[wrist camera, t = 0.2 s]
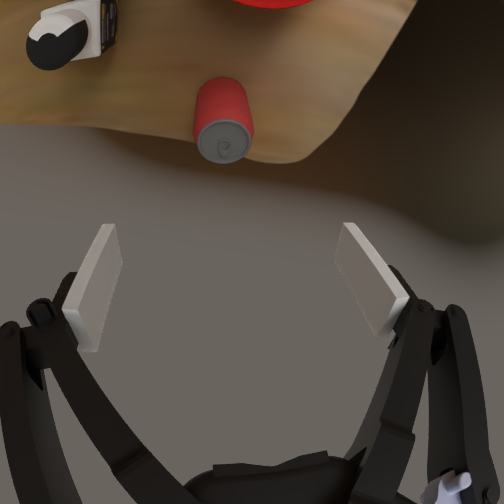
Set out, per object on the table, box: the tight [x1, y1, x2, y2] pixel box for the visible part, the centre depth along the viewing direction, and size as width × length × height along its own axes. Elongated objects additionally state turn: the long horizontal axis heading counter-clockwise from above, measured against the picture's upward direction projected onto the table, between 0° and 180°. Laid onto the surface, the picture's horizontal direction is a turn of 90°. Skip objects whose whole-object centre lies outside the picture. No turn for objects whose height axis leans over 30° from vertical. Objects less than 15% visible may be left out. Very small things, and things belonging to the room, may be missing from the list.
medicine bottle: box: [26, 0, 118, 70], centre depth 20 cm, size 7×7×12 cm
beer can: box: [193, 77, 254, 164], centre depth 32 cm, size 7×7×12 cm
